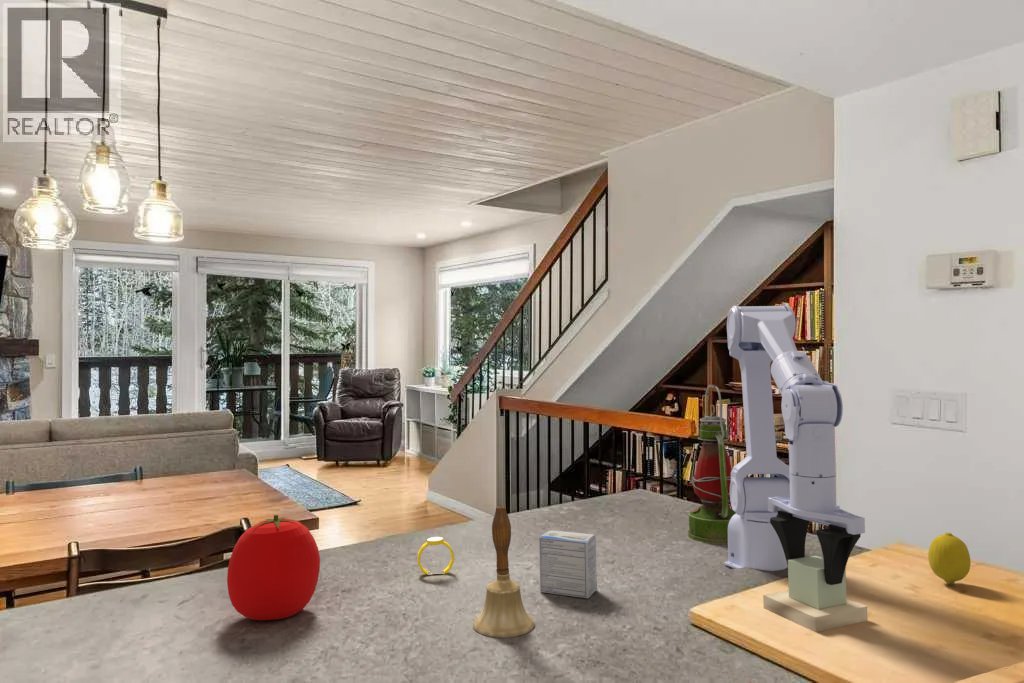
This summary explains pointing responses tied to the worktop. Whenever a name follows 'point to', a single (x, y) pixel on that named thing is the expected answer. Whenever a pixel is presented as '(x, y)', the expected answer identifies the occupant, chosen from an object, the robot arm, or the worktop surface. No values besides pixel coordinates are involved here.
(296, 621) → the worktop surface
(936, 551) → the lemon
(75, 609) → the worktop surface
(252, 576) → the tomato
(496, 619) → the hand bell
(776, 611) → the slab top
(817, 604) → the cube
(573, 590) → the medicine box
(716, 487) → the lantern
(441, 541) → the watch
